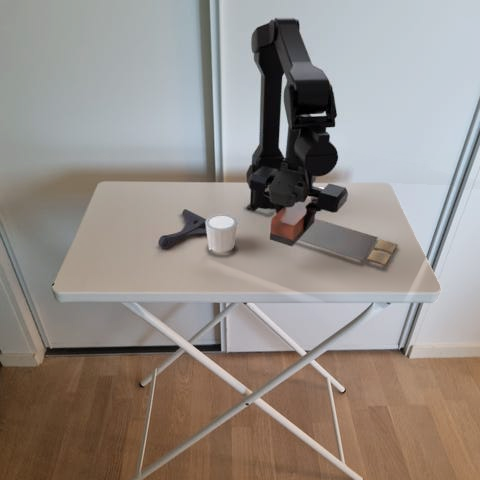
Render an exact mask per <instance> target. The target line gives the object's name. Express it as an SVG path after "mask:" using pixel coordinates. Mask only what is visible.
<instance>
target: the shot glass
mask: <svg viewBox="0 0 480 480" xmlns="http://www.w3.org/2000/svg"><path fill="white" fill-rule="evenodd" d="M205 219H206V221H205V224H206V228H205V229H206V231H207V234H206V238H207V245H208V246H207V247H208V251H211V250H212V251H214V252H217V253H225V252H230V251H231V250H233V249H234V247H235V242H236V237H237V229H238V227H237V226H238V220H237V219H236V218H235V217H234V216H232V215H229V214H223V213H220V214H219V213H217V214H213V215H210V216H209V217H207V218H205Z"/></svg>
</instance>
